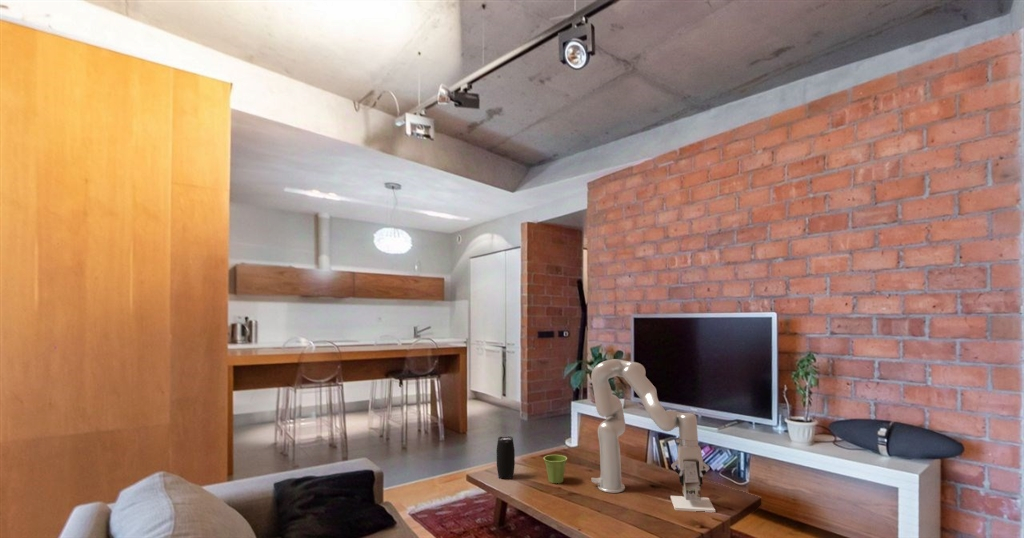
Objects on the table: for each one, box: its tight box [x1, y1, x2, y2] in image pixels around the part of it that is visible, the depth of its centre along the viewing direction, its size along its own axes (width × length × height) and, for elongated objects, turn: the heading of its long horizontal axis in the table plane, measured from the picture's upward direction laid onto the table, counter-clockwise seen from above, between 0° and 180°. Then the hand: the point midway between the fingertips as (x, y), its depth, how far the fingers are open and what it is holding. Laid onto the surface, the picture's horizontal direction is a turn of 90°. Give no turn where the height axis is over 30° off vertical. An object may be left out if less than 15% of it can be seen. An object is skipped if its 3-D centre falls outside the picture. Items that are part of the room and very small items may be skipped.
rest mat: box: [670, 495, 716, 513], centre depth 197 cm, size 16×13×1 cm
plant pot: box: [543, 454, 568, 484], centre depth 228 cm, size 12×12×11 cm
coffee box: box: [681, 460, 702, 501], centre depth 198 cm, size 9×6×16 cm
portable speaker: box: [496, 435, 516, 480], centre depth 235 cm, size 9×9×20 cm
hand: (691, 484), depth 197 cm, fingers closed on coffee box, 6 cm apart
